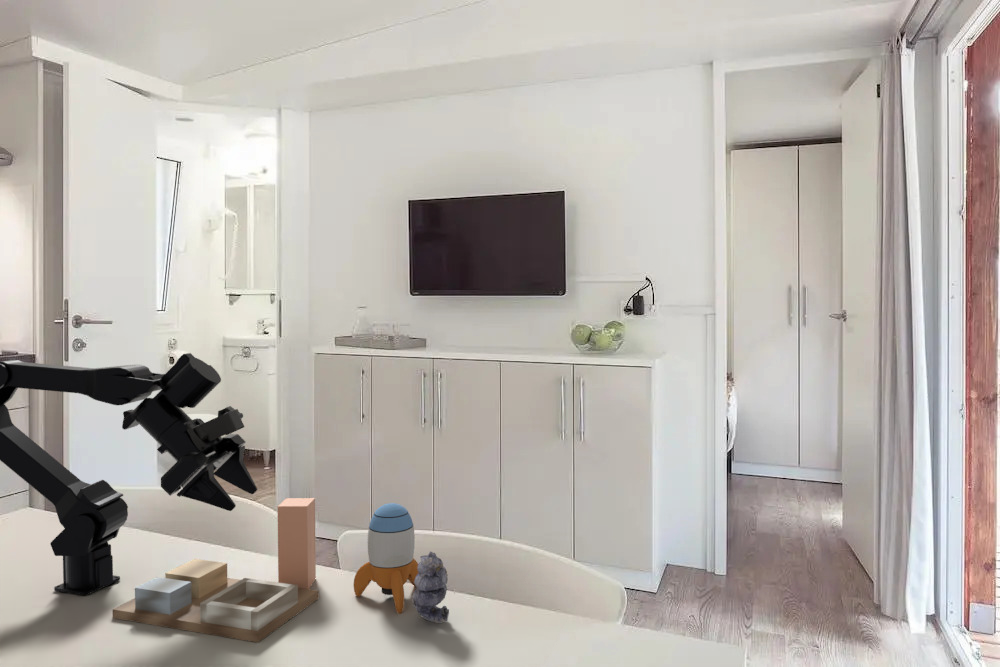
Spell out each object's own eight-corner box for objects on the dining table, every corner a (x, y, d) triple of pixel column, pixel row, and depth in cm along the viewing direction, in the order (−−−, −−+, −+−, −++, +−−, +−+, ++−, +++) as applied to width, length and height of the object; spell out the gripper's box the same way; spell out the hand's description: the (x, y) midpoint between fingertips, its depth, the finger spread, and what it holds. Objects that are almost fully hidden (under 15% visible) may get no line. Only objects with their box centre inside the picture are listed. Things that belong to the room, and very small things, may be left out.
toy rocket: (416, 621, 95) (392, 522, 93) (346, 627, 97) (321, 530, 95) (435, 582, 105) (414, 491, 103) (371, 588, 107) (350, 500, 105)
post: (278, 590, 103) (277, 506, 103) (287, 579, 108) (286, 498, 107) (308, 590, 103) (307, 506, 103) (315, 578, 108) (314, 498, 108)
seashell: (455, 617, 94) (455, 546, 94) (440, 635, 89) (439, 560, 89) (421, 612, 96) (420, 542, 96) (403, 629, 91) (402, 555, 91)
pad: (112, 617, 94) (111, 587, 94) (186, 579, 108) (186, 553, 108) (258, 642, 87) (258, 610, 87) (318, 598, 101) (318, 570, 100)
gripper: (182, 400, 95) (261, 478, 96) (233, 385, 114) (298, 451, 114) (126, 455, 95) (205, 533, 96) (186, 432, 114) (252, 497, 115)
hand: (244, 500), depth 105 cm, fingers open, 9 cm apart
